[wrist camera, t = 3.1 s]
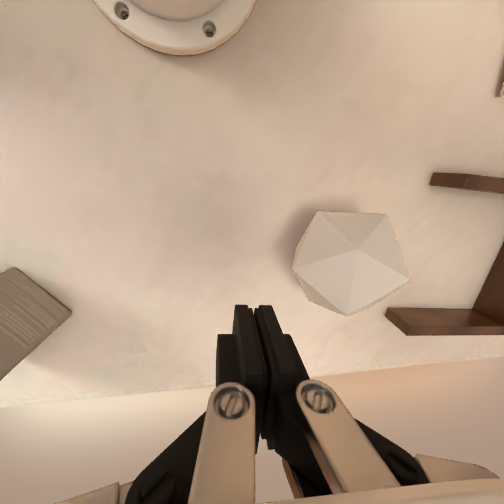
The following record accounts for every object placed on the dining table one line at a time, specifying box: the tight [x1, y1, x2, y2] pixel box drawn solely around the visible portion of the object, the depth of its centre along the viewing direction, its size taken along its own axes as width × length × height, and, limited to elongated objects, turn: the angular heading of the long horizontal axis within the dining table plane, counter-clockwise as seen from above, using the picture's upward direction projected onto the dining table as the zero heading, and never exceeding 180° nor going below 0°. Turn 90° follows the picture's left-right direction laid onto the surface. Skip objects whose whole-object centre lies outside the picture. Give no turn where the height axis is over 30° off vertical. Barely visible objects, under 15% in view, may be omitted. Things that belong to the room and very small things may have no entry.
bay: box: [385, 173, 504, 336], centre depth 25 cm, size 13×16×4 cm
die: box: [292, 211, 411, 316], centre depth 21 cm, size 8×9×10 cm
